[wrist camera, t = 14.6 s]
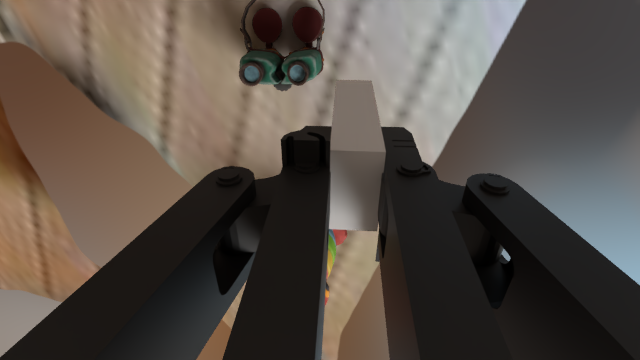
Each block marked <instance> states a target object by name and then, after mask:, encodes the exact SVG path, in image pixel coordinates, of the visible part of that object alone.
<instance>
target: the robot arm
mask: <svg viewBox="0 0 640 360" xmlns="http://www.w3.org/2000/svg"><path fill="white" fill-rule="evenodd" d="M281 149H282V164H283V167H282V170H281V173H280V174H279V175H276V176H274V177H269V178H264V179H258V180H255V178H254V174H253V172H251V171H250V170H249V169H246V168H243V167H235V166H229V167H223V168H221V169H218V170H215V171H213V172H211V173H210V174H208V175H207V176H206V177H204V178H203V179H202V180H201V181H200V182H199V183H198V184H196V185H195V186H194V187H193V188H192V189H191V190H190V191H189V192H187V193H186V194H185V195H184V196H183V197H182V198H181V199H180V200H178V201H177V202H176V203H175V204H174V205H173V206H172V207H170V208H169V209H168V210H167V211H166V212H165V213H164V214H162V215H161V216H160V217H159V218H158V219H157V220H156V221H155V222H153V223H152V224H151V225H150V226H149V227H148V228H147V229H145V230H144V231H143V232H142V233H141V234H140V235H139V236H137V237H136V238H135V239H134V240H133V241H132V242H131V243H130V244H129V245H127V246H126V247H125V248H124V249H123V250H122V251H120V252H119V253H118V254H117V255H116V256H115V257H114V258H112V260H111V261H109V262H108V263H107V264H106V265H105V266H103V267H102V268H101V269H100V270H99V271H98V272H97V273H95V274H94V275H93V276H92V277H91V278H90V279H89V280H88V281H86V282H85V283H84V284H83V285H82V286H81V287H80V288H78V289H77V290H76V291H75V292H74V293H73V294H72V295H71V296H69V297H68V298H67V299H66V300H65V301H64V302H63V303H61V304H60V305H59V306H58V307H57V308H56V309H55V310H53V311H52V312H51V313H50V314H49V315H48V316H47V317H46V318H45V319H43V320H42V321H41V322H40V323H39V324H38V325H36V326H35V327H34V328H33V329H32V330H31V331H30V332H29V333H27V334H26V335H25V336H24V337H23V338H22V339H21V340H19V341H18V342H17V343H16V344H15V345H14V346H13V347H12V348H10V349H9V350H8V351H7V352H6V353H5V354H4V355H3V356H1V357H0V360H196V359H197V357H198V355H199V354H200V352H201V351H202V349H203V348H204V346H205V344H206V343H207V341H208V340H209V338H210V337H211V335H212V334H213V332H214V330H215V329H216V327H217V326H218V324H219V323H220V321H221V319H222V318H223V316H224V315H225V313H226V312H227V310H228V308H229V307H230V305H231V304H232V302H233V301H234V299H235V297H236V296H237V294H238V293H239V291H240V290H241V288H242V286H243V285H244V283H245V282H246V280H247V282H246V286H245V289H244V292H243V295H242V298H241V302H240V305H239V308H238V311H237V315H236V318H235V321H234V324H233V327H232V331H231V334H230V337H229V340H228V343H227V347H226V350H225V353H224V356H223V360H321V355H322V339H323V323H324V308H325V292H326V276H327V260H328V245H329V229H339V230H362V231H377V227H378V221H379V236H378V244H377V253H376V261H378V262H379V260H380V269H381V279H382V288H383V298H384V307H385V318H386V328H387V337H388V346H389V357H390V360H640V285H638V284H637V283H636V282H635V281H634V280H633V279H631V278H630V277H629V276H628V275H626V274H625V273H624V272H623V271H622V270H620V269H619V268H618V267H617V266H616V265H614V264H613V263H612V262H611V261H609V260H608V259H607V258H606V257H605V256H604V255H602V254H601V253H600V252H599V251H598V250H596V249H595V248H594V247H593V246H591V245H590V244H589V243H588V242H587V241H586V240H584V239H583V238H582V237H581V236H579V235H578V234H577V233H576V232H575V231H573V230H572V229H571V228H570V227H569V226H567V225H566V224H565V223H564V222H563V221H561V220H560V219H559V218H558V217H557V216H555V215H554V214H553V213H552V212H550V211H549V210H548V209H547V208H546V207H544V206H543V205H542V204H541V203H539V202H538V201H537V200H536V199H535V198H533V197H532V196H531V195H530V194H529V193H528V192H526V191H525V190H524V189H523V188H522V187H520V186H519V185H518V184H516V183H515V182H513V181H511V180H510V179H507V178H505V177H502V176H501V175H497V174H495V175H494V174H490V173H488V174H476V175H472V176H471V177H469V178H468V179H467V183H466V186H460V185H455V184H450V183H447V182H443V181H441V180H439V179H438V177H437V174H436V172H435V170H434V169H433V168H432V167H431V166H430V165H428V164H426V163H424V162H422V160H421V157H420V155H419V152H418V149H417V148H416V144H415V142H414V138H413V136H412V133H410V132H409V131H408V130H406V129H405V128H404V127H381V125H380V120H379V115H378V110H377V105H376V100H375V95H374V90H373V85H372V81H361V80H336V88H335V99H334V109H333V120H332V127H328V126H305V127H304V128H303V129H301V130H300V131H295V132H290V133H288V134H286V135H284V136H283V138H282V139H281ZM503 248H504V249H505V250H506V251H507V253H508V254H509V256H510V257H511V259H510V261H509V262H508V261H507V260H506V259H505V258H504V257H503V255H502V254H501V253H502V251H503Z"/></svg>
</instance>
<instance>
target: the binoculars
mask: <svg viewBox="0 0 640 360" xmlns="http://www.w3.org/2000/svg"><path fill="white" fill-rule="evenodd" d="M255 1H256V0H252V1H251V2H250V3H249V4H248V5H247V7H246V8H245V11H244V14H243V17H242V20H241V23H242V29H241V28H240V31H241V32H242V33H243V35H244V39H245V45H246V48H247V50H248V52H247V54H246V55H244V56H243V57H242V58H241V60H240V71H239V77H240V79H241V81H242V82H243V83H244V84H245V85H248V86H255V85H257V84H274V87H276V88H277V90H281V91H284V90H285V91H287V90H288V89H290V88H291V85H292V84H294V85H297V86H300V85H303V84H304V83H305V82H306V81H309V80H312V79H313V78H314V77H315V76H316V75H318V74H319V73H320V72H321V71H322V70H323V61H324V59H323V55H322V52H321V50H320V42H321V40H322V34H323V33H324V29H325V28H323V25H324V21H325V18H324V8H323V6H322V4H321V2H320V1H319V0H318V2H319V4H320V6H321V8H322V10H323V19H322V16H321V14H320V13H319V12H318V11H317V10H315V9H313V8H310V7H303V8H301V9H299V10H298V11H297V12H296V13H295V15H294V17H293V23H292V24H293V29H294V32H295V34H296V35H297V37H298V38H299V39H300V40H301V41H303V42H306V47H304V48H302V49H301V50H295V51H294V52H290V53H289V55H288V56H286V57H284V56H282V55H281V54H280V53H279V52H278V51H277V50H276V49H274V48H272V43H273V42H274V41H275V40H276V39H277V38H278V37H279V35H280V33H281V30H282V21H281V18H280V16H279V15H278V13H277V12H276V11H274V10H272V9H270V8H263V9H260V10H259V11H257V12H256V14H255V15H254V17H253V24H252V25H253V29H254V32H255V33H256V35H257V36H258V38H259V39H260V40H261V41H263V42H265V43H266V49H253V48H252V41H251V39H250V36H249V35H248V33H247V31H246V30H245V18H246V15H247V13H248V10H249V8H250V6H251V5H252V4H253V3H254V2H255ZM319 36H320V38H319ZM316 39H317V47H315V48H312V42H313V41H315V40H316ZM247 43H250V47H248V44H247ZM251 50H252V51H251ZM285 58H286V59H285ZM284 59H285V61H284Z"/></svg>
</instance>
